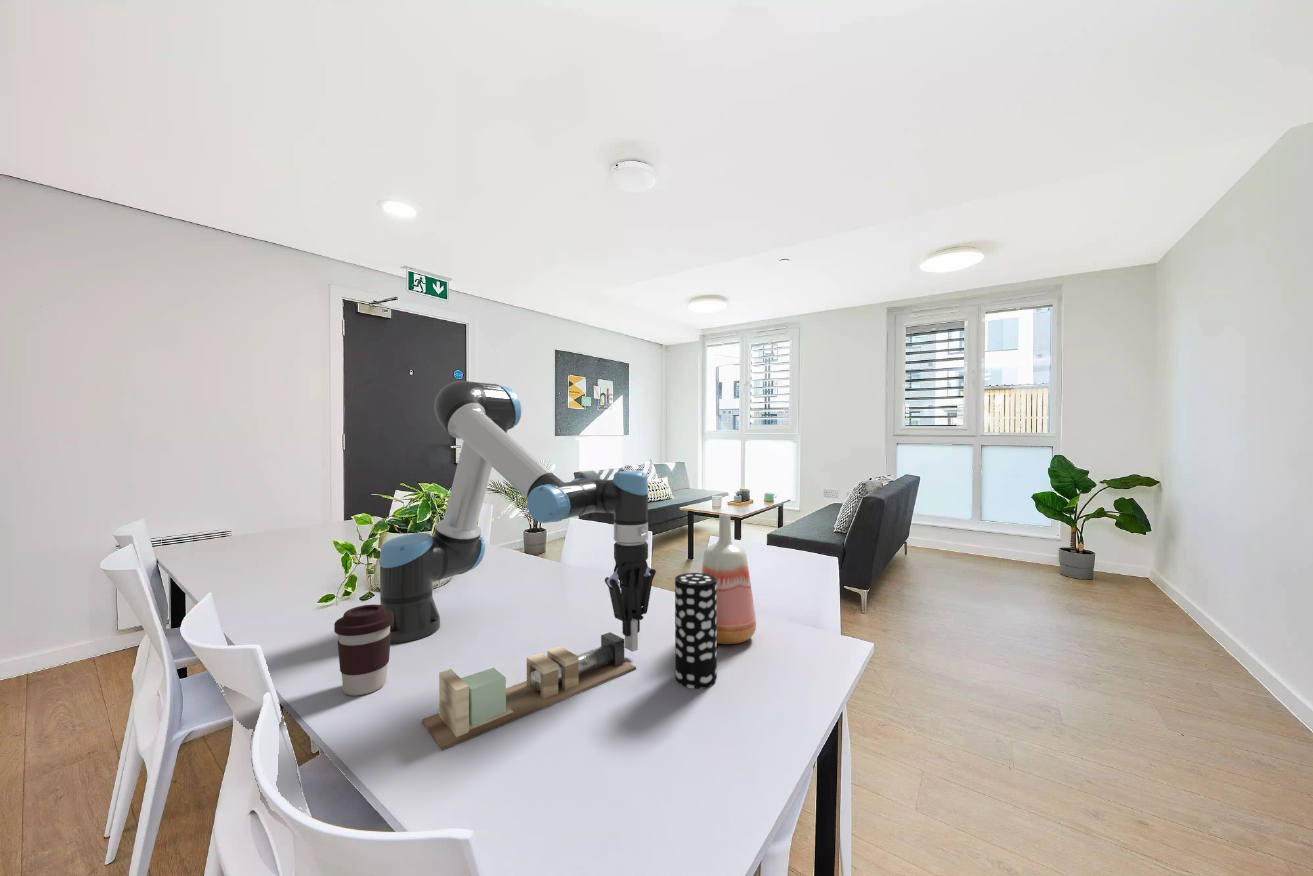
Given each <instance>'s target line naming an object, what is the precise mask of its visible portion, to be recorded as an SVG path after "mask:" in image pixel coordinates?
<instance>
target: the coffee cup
mask: <svg viewBox="0 0 1313 876" xmlns="http://www.w3.org/2000/svg"><path fill="white" fill-rule="evenodd" d="M342 615H343V616H342V617H340V618H338V619H337V620H336V621H335V622H334V624H333V626H334V627H333V629H334V631H333V632H334V633H335V634H336V635H338V640H337V651H338V652H337V653H338V661H339V662H338V663H339V671H340V673H341V680H342V682H341V683H342V691H343V693H345V694H346V695H348V696H362V695H367V694H371V693H373V692H376V691H377V690H379V689H381V688H383V686H384V685H385V684H386V683H387V681H388V679H387V677H388V664H389V662H390V650H391V643H390V640H391V631H390V625H391V624H392V623H393V622H394V613H393V612H391V611H389V610H386V609H385V607H384V606H382V605H380V604H364V605H359V606H356V607H355V606H354V607H353V608H350V609H348V610H347V611H345V612H344V613H343V614H342Z"/></svg>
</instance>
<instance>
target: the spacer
mask: <svg viewBox="0 0 1313 876" xmlns="http://www.w3.org/2000/svg"><path fill="white" fill-rule="evenodd" d="M460 678H461V679H462V680H463V681H464V682H465V683H466V684H467V685H468V686H469V723H470V724H471V725H474V724H477V723H479V722H482V721H484V720H487V719H489V718H492V717H494V716H497V715H499V714H502V713H504V712H506V688H507V677H506V676H505V675H503V674H502V673H501V672H500V671H499V670H498V669H496V667H491V668H487V669H485V670H482V671H479V672H475V673H473V674H469V675H467V676H463V677H460Z"/></svg>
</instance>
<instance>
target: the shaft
mask: <svg viewBox="0 0 1313 876" xmlns="http://www.w3.org/2000/svg"><path fill="white" fill-rule="evenodd" d="M576 656H578V660H579V675H580V674H583V673H586V672H588V671H591V670H593V669H596V668H598V667H601V666H604V665H606V664H609V663H610V664H612V665H613V666H618V665H620V664H623V663H624V661H625V638H623V637H621V636H618V635H616V634H614V633H612V632H606V633H604V634H600V647H596V648H594V649H592V650H591V649H590V650H588V651H585V652H582V653H580V654H577V655H576ZM557 664H558V683H560V682H562V665H561V664H560V663H558V662H557ZM530 679H531V684H532V687H533V689H534V690H535V691H539V690H541V675H540V672H539V671H538V670H535V671H532V672H531V676H530Z"/></svg>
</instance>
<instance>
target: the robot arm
mask: <svg viewBox="0 0 1313 876" xmlns="http://www.w3.org/2000/svg"><path fill="white" fill-rule="evenodd" d="M433 408H434V414H435V417H436V419H437V421H438V423H439V424H440V426H441V427H442V428H443V429H444V430H445V431H446V432H447V433H448V434H449V435H450V436H451V437H453V438H454V439H461V440H463V441H462V445H461V449H460V454H459V457H458V461H457V465H456V470H455V474H454V476H453V481H452V486H451V488H450V489H451V490H450V494H449V498H448V502H447V506H446V510H445V514H444V517H443V519H441V520H440V521H438V522H437V523H436V525H435V529H434V534H433V535H432V534H430V533H428V532H414V533H410V534H408V533H407V534H403V535H402V534H401V535H399V536H396V537H393V538H390V539H388V540H387V541H386V542H384V543H383V544H382V546H381V547H380V554H379V560H378V563H379V586H380V587H379V589H380V591H379V593H380V596H379V598H380V600H379V602H380V603H379V605H382V606H384V607H385V609H386V610H389V611H391V612H393V613H394V622H393V623H392V624H391V625H390V631H391V640H390V644H398V643H399V644H400V643H406V642H412V641H415V640H419V639H422V638H426V637H427V636H430V635H432V634H434V633H436V632H437V631H438V630H439V629H440V627H441V617H440V616H441V615H440V613H439V611H438V608H437V606H436V602H435V600H434V597H433V583H434V582H437V581H441V580H444V579H447V578H450V577H453V576H457V575H463V574H466V573H467V572H469V571H471V570H474V569H475V568H477V567H478V566H479V565H480V564H481V562H482V561H483V559H484V556H485V553H486V544H485V543H484V541H485V539H484V536H483V534H482V530H481V528H480V526H479V525H478V522H479V518H480V515H481V510H482V506H483V503H484V499H485V495H486V491H487V488H488V483H489V480H490V476H491V472H492V468H493V469H494V470H495V471H496V472H497V473H498V474H499V475H501V477H503V478H504V479H505V480H506V481H507V483H509V484H511V486H513V488H515V489H516V490H517V491H518V492H519V493H520V494H521V495H522V496H523V497H525V499H526V507H527V510H528V511H529V514H530V517H531V518H532V519H533V520H534V521H536V522H538V523H541V524H547V523H548V524H549V523H556V522H561V521H562V520H566V519H570V518H574V517H575V518H576V517H579V516H584V515H587V514H591V513H605V514H613V540H614V541H615V543H614V544H613V560H614V562H615V564H614V565H615V566H614V568H613V573H612V575H610V577H608V576H606V577H605V579H604V582H605V584H606V585H607V588H608V592H609V597H610V600H611V601H610V602H611V606H612V610H613V616H614V619H617V620H619V621H621V623H622V632H621V633H622V635H624V649H626V650H628V651H631V652H636V651H638V650H639V649H638V648H639V647H638V646H639V645H638V643H639V641H638V640H639V637H638V636H639V635H638V634H639V633H640V630H641V621H642V620H643V619H644V616H643V615H646V614H647V612H648V609H649V603H650V598H651V590H652V586H653V581H654V578H655V575H656V574H657V570H656V569H653V568H651V567H649V565H648V562H647V560H648V558H649V543H648V542H647V541H648V539H649V521H648V519H649V517H648V514H649V512H648V511H649V507H648V506H649V493H650V492H649V484H648V483H649V482H648V481H649V480H648V476H647V473H646V472H644V471H635V470H632V471H631V470H623V471H622V470H621V471H616V472H614V475H613V479H603V478H601V479H600V478H590V477H582V478H573V479H572V480H571V481H568V482H564V481H563V480H561V479H560V478H559V477H558V476H556V475H555V474H554V473H553V472H552V471H550V470H549V469H548V468H547V467H546V466H545V465H544V464H543V463H541V462H540V461H539V460H538V459H537V458H536V457H535V456H533V455H532V454H531V453H530V452H529V451H528V450H527V449H526V448H524V447H523V446H522V445H521V444H519V442H517V441H516V440H515V439H514V438H513V437H511V436H510V435H509V434H508V431H509V430H511V429H513V428H515V426H517V425H518V424H519V423H520V420H521V417H522V404H521V400H520V399H519V397H518V395H517V393H516V391H514V390H513V389H512V388H510V387H508V386H504V385H502V384H501V385H500V384H497V383H487V382H475V381H470V380H456V381H452V382H450V383H448V384H446V385H444V387H442V388H441V389H440V390H439V392H438V393H437V395H436V397H435V399H434V407H433Z"/></svg>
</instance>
